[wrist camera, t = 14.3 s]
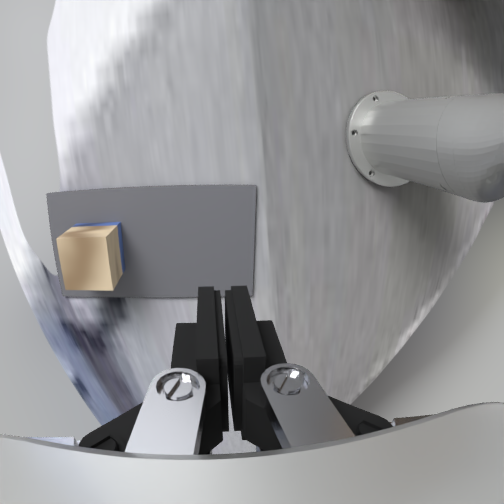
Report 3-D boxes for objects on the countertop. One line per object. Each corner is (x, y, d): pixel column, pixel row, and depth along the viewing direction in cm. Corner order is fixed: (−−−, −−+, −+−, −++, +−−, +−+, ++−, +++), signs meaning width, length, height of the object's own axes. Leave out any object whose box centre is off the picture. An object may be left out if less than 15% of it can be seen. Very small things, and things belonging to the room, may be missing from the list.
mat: (255, 185, 37) (256, 185, 36) (252, 293, 41) (252, 295, 41) (48, 193, 33) (46, 193, 33) (63, 294, 38) (62, 296, 37)
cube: (56, 238, 29) (76, 223, 35) (65, 289, 31) (82, 269, 37) (105, 236, 30) (120, 221, 35) (113, 290, 32) (125, 268, 37)
